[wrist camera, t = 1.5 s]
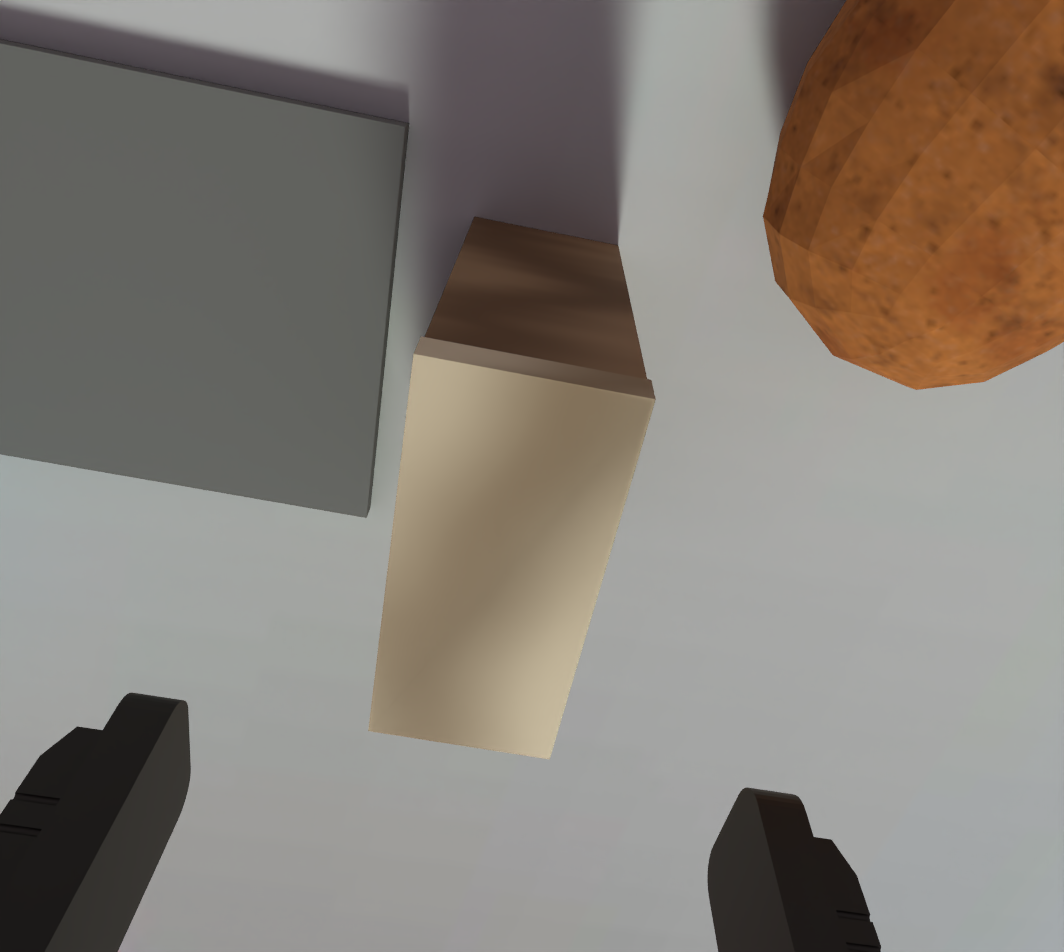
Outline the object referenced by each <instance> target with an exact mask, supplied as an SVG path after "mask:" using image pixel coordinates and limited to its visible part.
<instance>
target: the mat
mask: <svg viewBox="0 0 1064 952" xmlns="http://www.w3.org/2000/svg"><path fill="white" fill-rule="evenodd" d="M408 129H409V123H404V122H399V121H394V120H389V119H384V118H380V117H375V116H370V115H365V114H360V113H355V112H350V111H346V110H341V109H336V108H331V107H326V106H321V105H317V104H312V103H307V102H302V101H297V100H292V99H287V98H283V97H278V96H273V95H268V94H263V93H258V92H254V91H249V90H244V89H239V88H234V87H229V86H224V85H220V84H215V83H210V82H205V81H200V80H195V79H190V78H186V77H181V76H176V75H171V74H166V73H161V72H157V71H152V70H147V69H142V68H137V67H132V66H127V65H123V64H118V63H113V62H108V61H103V60H98V59H93V58H89V57H84V56H79V55H74V54H69V53H64V52H60V51H55V50H50V49H45V48H40V47H35V46H30V45H26V44H21V43H16V42H11V41H6V40H1V39H0V454H2V455H8V456H14V457H19V458H25V459H31V460H37V461H42V462H48V463H54V464H60V465H65V466H71V467H77V468H83V469H88V470H94V471H100V472H106V473H111V474H117V475H123V476H129V477H134V478H140V479H146V480H152V481H157V482H163V483H169V484H175V485H180V486H186V487H192V488H198V489H203V490H209V491H215V492H221V493H227V494H232V495H238V496H244V497H250V498H255V499H261V500H267V501H273V502H278V503H284V504H290V505H296V506H301V507H307V508H313V509H319V510H324V511H330V512H336V513H342V514H347V515H353V516H359V517H365V518H367V515H368V512H369V510H370V505H371V495H372V485H373V475H374V466H375V456H376V446H377V436H378V426H379V416H380V406H381V396H382V386H383V376H384V367H385V357H386V347H387V337H388V327H389V317H390V307H391V297H392V287H393V277H394V268H395V258H396V248H397V238H398V228H399V218H400V208H401V198H402V188H403V178H404V169H405V159H406V149H407V139H408Z"/></svg>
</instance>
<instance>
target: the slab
mask: <svg viewBox="0 0 1064 952" xmlns="http://www.w3.org/2000/svg"><path fill="white" fill-rule="evenodd" d="M654 403H655V395H654V390H653V386H652V381H651V380H649V379H647V377H646V372H645V367H644V363H643V358H642V353H641V349H640V344H639V340H638V335H637V330H636V326H635V321H634V317H633V312H632V307H631V303H630V298H629V293H628V289H627V284H626V280H625V275H624V270H623V266H622V261H621V257H620V252H619V247H618V245H614V244H609V243H604V242H599V241H594V240H589V239H584V238H579V237H574V236H569V235H564V234H559V233H554V232H548V231H543V230H538V229H533V228H528V227H523V226H518V225H513V224H508V223H503V222H498V221H493V220H488V219H483V218H478V217H474V219H473V221H472V224H471V226H470V229H469V231H468V234H467V236H466V238H465V241H464V243H463V246H462V248H461V250H460V253H459V255H458V258H457V260H456V262H455V265H454V267H453V270H452V272H451V275H450V277H449V279H448V282H447V284H446V287H445V289H444V291H443V294H442V296H441V299H440V301H439V304H438V306H437V308H436V311H435V313H434V316H433V318H432V320H431V323H430V325H429V328H428V330H427V332H426V335H425V337H422V336H421V338H420V340H419V342H418V345H417V347H416V349H415V352H414V354H413V363H412V371H411V379H410V388H409V396H408V404H407V413H406V421H405V429H404V438H403V446H402V454H401V463H400V471H399V479H398V488H397V496H396V504H395V513H394V521H393V530H392V538H391V546H390V555H389V563H388V571H387V580H386V588H385V596H384V605H383V613H382V621H381V630H380V638H379V646H378V655H377V663H376V671H375V680H374V688H373V696H372V705H371V713H370V721H369V730H368V731H372V732H378V733H385V734H391V735H398V736H404V737H410V738H417V739H423V740H429V741H436V742H442V743H449V744H455V745H461V746H468V747H474V748H480V749H487V750H493V751H500V752H506V753H512V754H519V755H525V756H531V757H538V758H544V759H550V756H551V753H552V750H553V746H554V743H555V739H556V736H557V733H558V729H559V726H560V722H561V719H562V716H563V712H564V709H565V705H566V702H567V699H568V695H569V692H570V688H571V685H572V682H573V678H574V675H575V671H576V668H577V665H578V661H579V658H580V654H581V651H582V648H583V644H584V641H585V637H586V634H587V631H588V627H589V624H590V620H591V617H592V614H593V610H594V607H595V603H596V600H597V597H598V593H599V590H600V586H601V583H602V580H603V576H604V573H605V569H606V566H607V563H608V559H609V556H610V552H611V549H612V546H613V542H614V539H615V535H616V532H617V529H618V525H619V522H620V518H621V515H622V512H623V508H624V505H625V501H626V498H627V495H628V491H629V488H630V484H631V481H632V478H633V474H634V471H635V467H636V464H637V461H638V457H639V454H640V450H641V447H642V444H643V440H644V437H645V433H646V430H647V427H648V423H649V420H650V416H651V413H652V410H653V406H654Z"/></svg>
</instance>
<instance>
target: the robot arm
mask: <svg viewBox="0 0 1064 952" xmlns="http://www.w3.org/2000/svg"><path fill="white" fill-rule="evenodd" d="M190 773H191V766H190V742H189V717H188V705H187V703H186V701H184V700H177V699H171V698H164V697H157V696H151V695H144V694H138V693H129V694H127V695H126V696H125V697H124V698H123V699H122V700H121V702H120V703H119V705H118V706H117V708H116V709H115V711H114V713H113V714H112V716H111V718H110V719H109V721H108V722H107V724H106V726H105V727H104V729H103V730H97V729H90V728H83V727H76V728H75V729H74V730H72V731H71V732H70V733H68V734H67V735H66V736H65V737H63V738H62V739H61V740H60V741H58V742H57V743H56V744H54V745H53V746H52V747H51V748H49V749H48V750H47V751H46V752H44V753H43V754H42V755H40V757H39V758H38V760H37V761H36V763H35V764H34V766H33V767H32V768H31V770H30V771H29V773H28V774H27V776H26V777H25V779H24V780H23V782H22V783H21V785H20V786H19V788H18V789H17V791H16V792H15V797H14V799H13V800H10V801H9V802H8V804H7V805H6V807H5V808H4V810H3V811H2V813H1V814H0V952H118V950H119V947H120V945H121V943H122V941H123V939H124V936H125V934H126V932H127V930H128V928H129V926H130V923H131V921H132V919H133V917H134V915H135V912H136V910H137V908H138V906H139V904H140V901H141V899H142V897H143V895H144V893H145V891H146V888H147V886H148V884H149V882H150V880H151V877H152V875H153V873H154V871H155V869H156V867H157V864H158V862H159V860H160V858H161V856H162V853H163V851H164V849H165V847H166V845H167V842H168V840H169V838H170V836H171V834H172V832H173V829H174V827H175V825H176V823H177V821H178V818H179V816H180V814H181V811H182V808H183V805H184V802H185V799H186V795H187V791H188V787H189V781H190ZM708 893H709V899H710V905H711V911H712V917H713V923H714V929H715V934H716V940H717V946H718V952H880V949H881V945H880V942H879V939H878V936H877V933H876V930H875V928H874V925H873V922H870V919H869V916H870V913H869V910H868V907H867V904H866V901H865V898H864V895H863V892H862V890H861V887H860V884H859V881H858V878H857V875H856V874H855V872H854V871H853V870H852V868H851V867H850V865H849V864H848V862H847V861H846V860H845V858H844V857H843V855H842V854H841V853H840V851H839V850H838V848H837V847H836V846H835V844H834V843H833V841H832V840H830V839H823V838H816V837H813V833H812V830H811V827H810V824H809V820H808V817H807V814H806V811H805V808H804V805H803V803H802V801H801V800H800V798H799V797H798V796H796V795H793V794H787V793H780V792H773V791H767V790H760V789H754V788H744V789H743V790H742V791H741V792H740V794H739V795H738V797H737V799H736V801H735V803H734V805H733V807H732V809H731V811H730V813H729V815H728V817H727V819H726V821H725V823H724V825H723V827H722V829H721V832H720V834H719V836H718V838H717V840H716V842H715V844H714V846H713V848H712V851H711V854H710V858H709V865H708Z"/></svg>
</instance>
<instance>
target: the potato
mask: <svg viewBox="0 0 1064 952" xmlns="http://www.w3.org/2000/svg"><path fill="white" fill-rule="evenodd" d="M763 218H764V224H765V229H766V234H767V240H768V245H769V250H770V255H771V261H772V266H773V271H774V277H775V281H776V283H777V284H778V285H779V286H780V288H781V289H782V290H783V291H784V292H785V294H786V295H787V296H788V297H789V298H790V300H791V301H792V302H793V304H794V305H795V306H796V308H797V309H798V310H799V312H800V313H801V314H802V315H803V317H804V318H805V319H806V321H807V322H808V323H809V325H810V326H811V327H812V328H813V330H814V331H815V332H816V334H817V335H818V336H819V338H820V339H821V340H822V342H823V343H824V344H825V345H826V347H827V348H828V349H829V351H830V352H831V353H832V355H834V356H836V357H839V358H841V359H843V360H846V361H848V362H850V363H853V364H855V365H857V366H860V367H862V368H865V369H867V370H869V371H872V372H874V373H876V374H879V375H881V376H884V377H886V378H888V379H891V380H893V381H895V382H898V383H900V384H902V385H905V386H907V387H910V388H913V389H916V390H917V389H926V388H935V387H943V386H952V385H961V384H969V383H978V382H985V381H987V380H989V379H991V378H993V377H995V376H997V375H999V374H1001V373H1003V372H1005V371H1007V370H1009V369H1012V368H1014V367H1016V366H1018V365H1020V364H1022V363H1024V362H1026V361H1028V360H1030V359H1032V358H1034V357H1036V356H1038V355H1040V354H1042V353H1044V352H1047V351H1048V350H1050V349H1052V348H1054V347H1055V346H1057V345H1059V344H1060V343H1062V342H1064V0H846V2H845V4H844V5H843V7H842V8H841V10H840V12H839V13H838V15H837V16H836V18H835V20H834V21H833V23H832V24H831V26H830V28H829V29H828V31H827V32H826V34H825V36H824V37H823V39H822V40H821V42H820V44H819V45H818V47H817V48H816V50H815V52H814V53H813V55H812V56H811V58H810V60H809V61H808V63H807V65H806V67H805V70H804V73H803V75H802V78H801V80H800V83H799V86H798V88H797V91H796V93H795V96H794V99H793V101H792V104H791V106H790V109H789V112H788V114H787V117H786V120H785V122H784V125H783V127H782V130H781V133H780V137H779V142H778V147H777V152H776V157H775V162H774V167H773V173H772V178H771V183H770V188H769V193H768V198H767V202H766V206H765V210H764V214H763Z"/></svg>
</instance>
